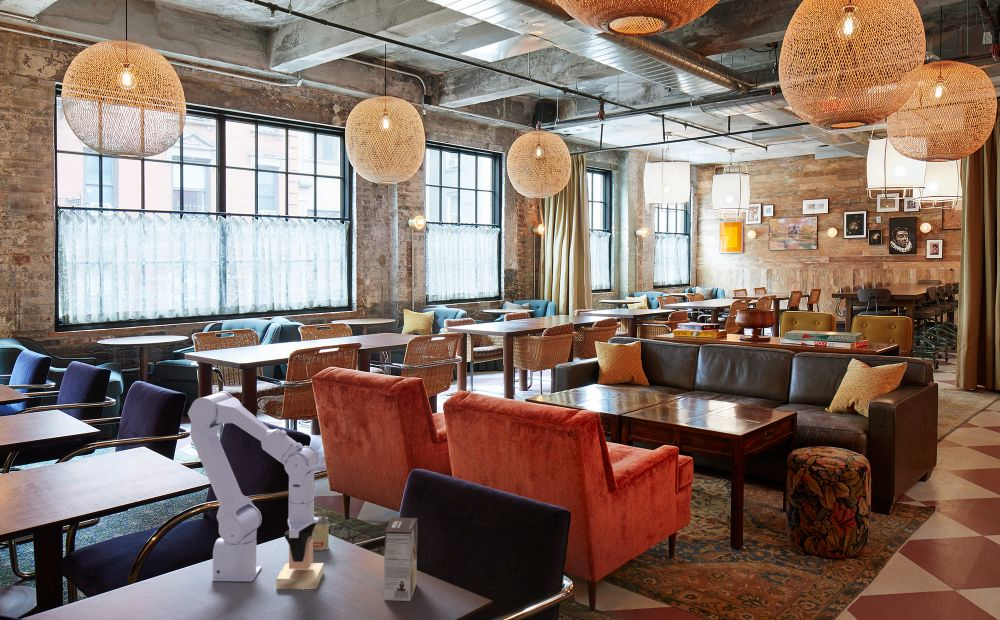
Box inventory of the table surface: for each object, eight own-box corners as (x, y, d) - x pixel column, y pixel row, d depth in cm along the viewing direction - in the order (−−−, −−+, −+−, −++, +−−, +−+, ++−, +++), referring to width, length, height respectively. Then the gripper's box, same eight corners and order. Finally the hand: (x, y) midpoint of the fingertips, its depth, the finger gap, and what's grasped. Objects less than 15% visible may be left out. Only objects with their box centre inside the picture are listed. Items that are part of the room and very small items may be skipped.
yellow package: (299, 551, 191) (300, 513, 190) (302, 545, 195) (302, 508, 194) (327, 550, 192) (328, 513, 191) (329, 545, 196) (329, 508, 195)
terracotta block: (289, 568, 171) (289, 543, 171) (293, 560, 175) (294, 536, 175) (308, 568, 171) (308, 543, 171) (312, 561, 176) (313, 536, 175)
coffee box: (390, 582, 174) (391, 516, 173) (417, 583, 174) (418, 517, 173) (383, 600, 165) (384, 530, 164) (411, 601, 165) (412, 531, 164)
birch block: (276, 591, 169) (276, 578, 169) (286, 574, 178) (286, 562, 178) (315, 591, 169) (315, 579, 169) (323, 575, 178) (323, 563, 178)
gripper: (311, 510, 165) (311, 569, 166) (324, 490, 180) (324, 545, 181) (279, 510, 165) (279, 569, 166) (295, 490, 179) (295, 544, 180)
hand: (300, 556), depth 173 cm, fingers closed on terracotta block, 4 cm apart
